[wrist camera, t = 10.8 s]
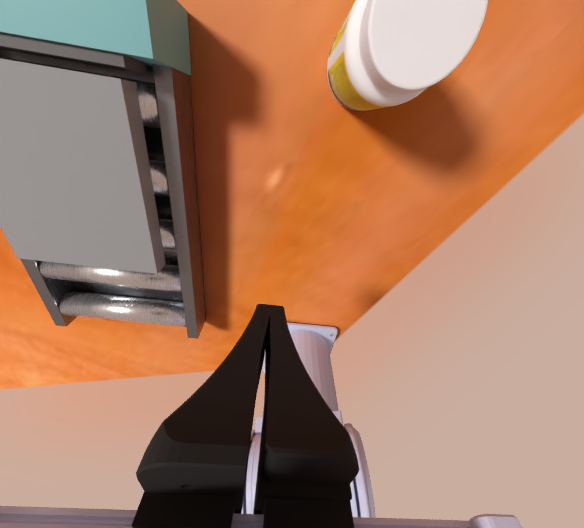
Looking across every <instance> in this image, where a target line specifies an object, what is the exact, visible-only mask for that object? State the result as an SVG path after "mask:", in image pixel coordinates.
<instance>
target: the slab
mask: <svg viewBox="0 0 584 528" xmlns="http://www.w3.org/2000/svg"><path fill="white" fill-rule="evenodd" d="M0 227H1V229H2V231H3V233H4V234H5V236H6V238H7V240H8V242H9V244H10V246H11V247H12V249H13V251H14V253H15V255H16V257H17V258H20V259H29V260H38V261H47V262H56V263H65V264H74V265H83V266H91V267H100V268H109V269H118V270H127V271H136V272H145V273H154V274H158V273H159V271H160V270H161V269H162V268H163V267H164V266H165V265H166V263H165V257H164V251H163V245H162V239H161V233H160V227H159V220H158V214H157V208H156V202H155V196H154V190H153V184H152V177H151V171H150V165H149V159H148V153H147V147H146V141H145V135H144V128H143V122H142V116H141V110H140V104H139V98H138V92H137V85H136V82H132V81H128V80H123V79H119V78H113V77H107V76H101V75H95V74H89V73H83V72H78V71H72V70H66V69H60V68H54V67H48V66H42V65H36V64H30V63H25V62H19V61H13V60H7V59H1V58H0Z"/></svg>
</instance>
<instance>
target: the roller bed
mask: <svg viewBox="0 0 584 528" xmlns="http://www.w3.org/2000/svg"><path fill="white" fill-rule="evenodd" d="M0 58H1V59H7V60H13V61H19V62H25V63H30V64H36V65H42V66H48V67H54V68H60V69H66V70H72V71H78V72H83V73H89V74H95V75H101V76H107V77H113V78H119V79H123V80H128V81H132V82H136V85H137V92H138V98H139V104H140V110H141V116H142V122H143V128H144V135H145V141H146V147H147V153H148V159H149V165H150V171H151V177H152V184H153V190H154V196H155V202H156V208H157V214H158V220H159V227H160V233H161V239H162V245H163V251H164V257H165V263H166V265H165V266H164V267H163V268H162V269H161V270H160V271H159V273H158V274H154V273H145V272H136V271H127V270H118V269H109V268H100V267H91V266H83V265H74V264H65V263H56V262H47V261H38V260H29V259H21V261H22V263H23V265H24V266H25V268H26V270H27V272H28V274H29V276H30V278H31V280H32V281H33V283H34V285H35V287H36V289H37V291H38V293H39V295H40V296H41V298H42V300H43V302H44V304H45V306H46V308H47V310H48V311H49V313H50V315H51V317H52V319H53V321H54V323H55V325H58V326H67V325H69V324H70V323H71V322H72V321H73V320H74V319H75V318H76V317H77V316H78V317H88V318H99V319H109V320H120V321H130V322H140V323H151V324H161V325H172V326H182V327H187V334H188V338H198V337H199V335H200V332H201V330H202V328H203V325H204V323H205V321H206V309H205V294H204V279H203V264H202V249H201V234H200V219H199V204H198V189H197V174H196V159H195V144H194V129H193V114H192V99H191V84H190V75H188V74H185V73H183V72H181V71H179V70H176V69H174V68H172V67H167V66H161V65H156V64H153V68H148V67H146V73H147V74H143V73H137V72H131V71H126V70H120V69H114V68H108V67H102V66H97V65H91V64H85V63H79V62H73V61H68V60H62V59H56V58H50V57H45V56H39V55H33V54H27V53H21V52H16V51H10V50H4V49H0Z"/></svg>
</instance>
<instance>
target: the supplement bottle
mask: <svg viewBox="0 0 584 528" xmlns="http://www.w3.org/2000/svg"><path fill="white" fill-rule="evenodd" d="M487 3H488V0H356V1H355V2H354V4H353V6H352V8H351V10H350V12H349V14H348V16H347V17H346V19H345V21H344V23H343V25H342V27H341V29H340V31H339V32H338V34H337V36H336V38H335V40H334V42H333V45H332V47H331V50H330V53H329V58H328V64H327V75H328V82H329V86H330V89H331V92H332V94H333V96H334V97H335V99H336V100H337V101H338V102H339V103H340V104H341V105H342V106H344V107H345V108H347V109H350V110H354V111H366V110H372V109H378V108H385V107H391V106H396V105H400V104H403V103H406V102H408V101H410V100H411V99H413V98H415V97H416V96H418V95H419V94H421V93H422V92H423V91H424V90H425V89H426V88H428V87H430V86H432V85H434V84H436V83H438V82H439V81H441V80H442V79H444V78H445V77H446V76H447V75H449V74H450V73H451V72H452V71H453V70H454V69H455V68H456V67H457V66H458V65H459V64H460V63H461V61H462V60H463V59H464V58H465V56H466V55H467V53H468V52H469V50H470V49H471V47H472V45H473V44H474V42H475V40H476V38H477V36H478V33H479V31H480V29H481V26H482V23H483V20H484V17H485V13H486V9H487Z"/></svg>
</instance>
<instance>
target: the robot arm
mask: <svg viewBox="0 0 584 528" xmlns="http://www.w3.org/2000/svg"><path fill="white" fill-rule="evenodd" d="M337 333H338V331H337V328H336V327H329V326H319V325H309V324H299V323H290V322H287V321H286V317H285V311H284V307H283V306H276V305H266V304H258V305H257V307H256V310H255V312H254V314H253V317H252V319H251V320H250V322H249V324H248V326H247V328H246V329H245V331H244V333H243V334H242V336H241V338H240V339H239V340H238V342H237V343H236V345H235V346H234V348H233V349H232V351H231V352H230V353H229V355H228V356H227V357H226V358H225V360H224V361H223V362H222V363H221V365H220V366H219V367H218V368H217V369H216V370H215V372H214V373H213V374H212V375H211V376H210V377H209V378H208V379H207V381H206V382H205V383H204V384H203V385H202V386H201V387H200V388H199V389H198V390H197V391H196V392H195V393H194V394H193V395H192V396H191V397H190V398H189V399H188V400H187V401H186V402H184V403H183V404H182V405H181V406H180V407H179V408H178V409H177V410H175V411H174V412H173V413H172V414H171V415H170V416H169V417H168V418H166V419H165V420H164V421H163V423H162V424H161V425H160V427H159V428H158V430H157V432H156V433H155V435H154V437H153V438H152V440H151V442H150V444H149V445H148V447H147V449H146V451H145V453H144V456H143V459H142V460H141V463H140V465H139V467H138V470H137V472H136V475H137V478H138V481H139V482H140V484H141V486H142V487H143V489H144V491H145V492H144V494H143V497H142V499H141V502H140V504H139V507H138V510H110V509H79V508H48V507H15V506H0V528H522V526H521V525H520V523H519V521H518V519H517V518H516V517H515V516H514V515H498V514H497V515H496V514H483V515H478V516H475V517H473V518H471V519H470V521H457V520H426V519H393V518H375V507H374V500H373V494H372V487H371V481H370V476H369V470H368V466H367V461H366V456H365V452H364V448H363V444H362V441H361V437H360V434H359V432H358V431H357V430H356V429H355V428H353V426H352V425H351V424H349V423H348V424H344V426H343V421H342V415H341V411H339V410H338V404H337V398H336V392H335V386H334V379H333V374H332V367H331V361H330V353H331V350H332V347H333V344H334V341H335V338H336V335H337ZM264 355H265V357H264ZM263 360H264V365H263ZM262 365H263V373H264V374H265V396H264V406H263V415H262V416H261V417H257V420H256V429H255V430H252V425H253V416H254V408H255V400H256V394H257V389H258V384H259V379H260V374H261V369H262Z"/></svg>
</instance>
